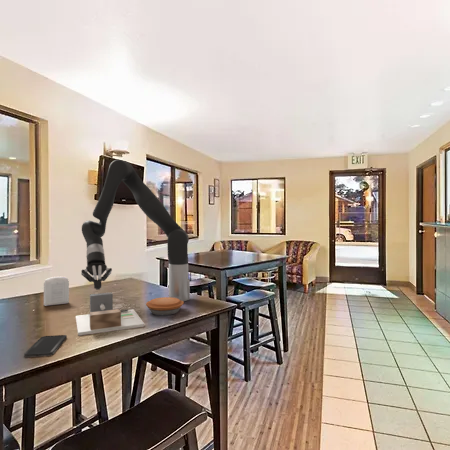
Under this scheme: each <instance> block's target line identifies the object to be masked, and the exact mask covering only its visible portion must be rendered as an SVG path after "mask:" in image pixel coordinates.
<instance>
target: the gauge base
mask: <svg viewBox="0 0 450 450" xmlns="http://www.w3.org/2000/svg"><path fill="white" fill-rule="evenodd" d="M75 322H76V323H75V324H76V331H77V336H85V335H92V334H99V333H107V332H113V331H114V332H115V331H121V330H129V329H136V328H142V327H145V322H144V321H143V320H142V318H141V317H140V316H139V314H138V313H137V312H136V311H135V309H134V308H131V309H128V311H126V312H121V326H117V327H110V328H102V329H95V330H90V313H89V314H88V313H87V314H80V315H75Z"/></svg>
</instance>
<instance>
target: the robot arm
mask: <svg viewBox="0 0 450 450" xmlns="http://www.w3.org/2000/svg"><path fill="white" fill-rule="evenodd" d="M104 181H105V182H104V185H103V186H102V187H103V188H102V190H101V194H100V195H99V198H98V200H97V203H96V205H95V207H94V209H93V211H92V216H93V217H94V218H95V219H97V220H98V221H99V222H97V221H96V222H95V221H92V220H86V221H84V222H83V223H82V225H81V233H82V237H83V238H84V240H85V242H86V256H85V257H86V266H85V269H82V270H81V276H83V277H84V278H85V279H86V280H87V281H88V282H89V283H93V289H95V290H96V291H98V290H101V288H102V282H105V281H106V280H107V279H108V277H109V276H111V274H112V271H113V269H112V268H111V267H110V268H108V266H107V264H106V258H105V257H106V256H105V250H104V244H103V243H104V241H103V238H102V237H104V235H105V234H106V229H107V221H108V217H109V215H110V213H111V211H112V209H113V206H114V202H115V198H116V193H117V190H118V187H119V186H120V184H121V183H124V185H125V186H126V188H128V189H129V190H130V192H131V193H132V195H133V197H134V200H135V202H136V204H137V206H138V207H139V208H140V210H141V211H142V212H143V213H144V214H145V216H146V217H147V218H149V219H150V221H152V223H154V224H156V225H157V227H159V228H160V229H161V230H162V231H163V233H164V234H165V235H166V237H167V244H166V245H167V259H168V297H172V298H177V299H179V300H181V301H183V302H187V301H190V297H191V296H190V295H191V294H190V292H191V289H190V287H191V286H190V285H191V284H190V283H191V280H190V279H189V256H188V248H189V247H188V243H189V240H190V239H189V237H190V236H189V235H188V233H187V232H186V231H185V229H183V228H182V227H181V226H180V225H179V224H178V223H177V222H176V221H175V220H174V218H173V217H172V216H171V214H170V213H169V211H168V210H167V208H166V206H164V204H163V203H162V202H161V201H160V199H159V198H158V197H157V196H156V194H155V193H154V192H153V191H152V190H151V188H149V187H148V186H147V184H146V183H145V182H144V181H143V180H142V178H141V177H140V176H139V175H138V173H137V172H136V170H135V168H134V167H133V165H132V164H131V163H130V162H128V161H126V160H123V159H115V160H113V161H112V162H110V164H109V167H108V169H107V173H106V178H105V180H104Z"/></svg>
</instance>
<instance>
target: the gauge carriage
mask: <svg viewBox="0 0 450 450" xmlns="http://www.w3.org/2000/svg"><path fill="white" fill-rule="evenodd" d="M113 294H114V293H112V292H103V293H101V292H100V293H92V294H89V313H90V312H98V311H107V310H114V308H113V307H114V306H113V305H114V304H113V302H114V301H113V300H114V299H113ZM119 310H120V311H121V312H126V311H128V310H129V309H119Z"/></svg>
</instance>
